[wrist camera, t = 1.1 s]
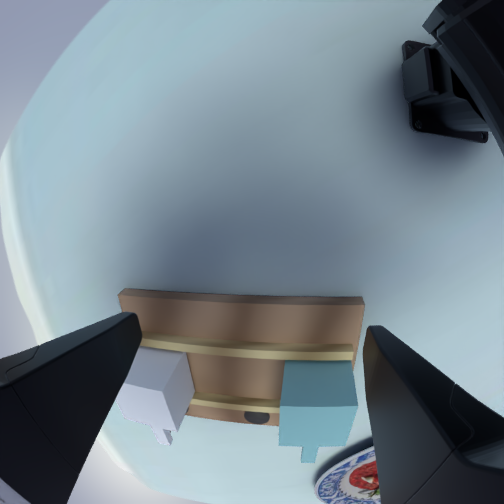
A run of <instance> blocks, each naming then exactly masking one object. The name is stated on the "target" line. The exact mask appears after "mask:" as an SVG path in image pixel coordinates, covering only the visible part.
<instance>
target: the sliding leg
mask: <svg viewBox="0 0 504 504" xmlns="http://www.w3.org/2000/svg"><path fill="white" fill-rule="evenodd" d="M357 408H358V402H357V395H356V388H355V381H354V375H353V369H352V363H351V360H285V366H284V375H283V384H282V392H281V401H280V420H279V446H303V448H302V454H301V463H315V460H316V456H317V451H318V447H326V446H345V445H346V442H347V439H348V436H349V433H350V430H351V427H352V424H353V421H354V418H355V415H356V411H357Z"/></svg>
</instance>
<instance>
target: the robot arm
mask: <svg viewBox="0 0 504 504" xmlns="http://www.w3.org/2000/svg"><path fill="white" fill-rule="evenodd" d="M423 28H424V29H425V30H426V31H427V32H428V33H429V34H432V36H433V37H434V38H435V39H436V40H437V42H436V43H434V44H433V45H429V44H425V43H420V42H415V41H406V42H405V43H404V44H403V54H404V61H405V62H404V63H403V64H402V72H403V81H404V92H405V99H406V100H407V102H409V118H410V127H411V129H412V130H413V131H415V132H419V133H426V134H434V135H440V136H447V137H453V138H458V139H464V140H469V141H474V142H479V143H486V142H487V141H488V131H491V132H492V133H493V135H494V137H495V139H496V141H497V143H498V145H499V147H500V149H501V151H502V153H503V156H504V0H442V1H441V2H440V3H439V4H438V5H437V6H436V7H435V9H434V10H433V11H432V13H431V14H430V16H429V17H428V19H427V20H426V21H425V23H424V24H423ZM408 45H409V46H411V47H412V49H413V50H410V49H409V48H408ZM416 121H417V122H419V124H420V127H419V128H417V127H416V125H415V123H416ZM481 133H482V134H483V139H482V138H481ZM141 341H142V331H141V327H140V323H139V319H138V316H137V314H136V313H134V312H127V311H125V312H122V313H119V314H117V315H114V316H112V317H109V318H107V319H104V320H102V321H99V322H97V323H94V324H92V325H89V326H87V327H84V328H82V329H79V330H76V331H74V332H71V333H69V334H66V335H64V336H61V337H59V338H56V339H54V340H51V341H48V342H46V343H43V344H41V345H40V346H39V345H38V346H36V347H33V348H30V349H28V350H25V351H22V352H20V353H17V354H14V355H11V356H8V357H4V358H2V359H0V504H67V502H68V499H69V497H70V495H71V492H72V490H73V488H74V486H75V483H76V481H77V479H78V476H79V474H80V472H81V470H82V467H83V465H84V463H85V461H86V458H87V456H88V454H89V452H90V450H91V448H92V446H93V444H94V442H95V440H96V437H97V435H98V433H99V431H100V429H101V427H102V425H103V423H104V421H105V419H106V417H107V415H108V413H109V411H110V409H111V407H112V405H113V403H114V401H115V399H116V397H117V395H118V393H119V391H120V389H121V387H122V386H123V384H124V382H125V380H126V378H127V376H128V373H129V371H130V369H131V366H132V363H133V361H134V358H135V356H136V353H137V351H138V348H139V346H140V343H141ZM363 364H364V377H365V392H366V402H367V408H368V413H369V419H370V425H371V431H372V437H373V444H374V450H375V458H376V465H377V473H378V481H379V490H380V500H381V504H504V417H502V416H501V415H499V414H498V413H496V412H495V411H493V410H492V409H490V408H489V407H487V406H486V405H484V404H483V403H481V402H480V401H478V400H477V399H476V398H474V397H473V396H472V395H470V394H469V393H468V392H466V391H465V390H464V389H463V388H461V387H460V386H459V385H458V384H455V382H454V381H452V380H451V379H450V378H449V377H447V376H446V375H445V374H444V373H442V372H441V371H440V370H438V369H437V368H436V367H435V366H433V365H432V364H431V363H430V362H428V361H427V360H426V359H424V358H423V357H422V356H421V355H419V354H418V353H417V352H415V351H414V350H413V349H412V348H410V347H409V346H408V345H406V344H405V343H404V342H403V341H401V340H400V339H399V338H397V337H396V336H395V335H393V334H392V333H391V332H390V331H388V330H387V329H386V328H384V327H383V326H381V325H376V326H369V327H368V328H367V332H366V337H365V342H364V347H363Z"/></svg>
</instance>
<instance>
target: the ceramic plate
mask: <svg viewBox="0 0 504 504" xmlns="http://www.w3.org/2000/svg"><path fill="white" fill-rule="evenodd" d="M315 495H316V496H317V498H318V499H319V500H321V501H322V502H324V503H326V504H381V500H380V490H379V481H378V473H377V465H376V458H375V450H374V446H372V447H370V448H367V449H365V450H363V451H361V452H359V453H356V454H354V455H352V456H350V457H348V458H346V459H344V460H343V461H341V462H339V463H338V464H336V465H334V466H333V467H332V468H330V469H329V470H327V471H326V472H325V473H324V474H323V475H322V476H321V477H320V478H319V479H318V481H317V483H316V485H315Z"/></svg>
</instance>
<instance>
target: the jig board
mask: <svg viewBox="0 0 504 504" xmlns="http://www.w3.org/2000/svg"><path fill="white" fill-rule="evenodd" d="M118 298H119V302H120V305H121V309H122V312H125V311H127V312H134V313H136V314H137V316H138V319H139V323H140V327H141V331H142V341H141V343H140V345H141V346H147V347H153V348H160V349H167V350H175V351H182V352H186V355H187V359H188V364H189V368H190V372H191V377H192V381H193V385H194V389H195V393H194V395H193V397H192V400H191V402H190V404H189V406H188V409H187V411H186V413H185V415H188V416H194V417H200V418H207V419H213V420H221V421H228V422H237V423H247V424H258V425H271V426H279V420H280V401H281V392H282V384H283V375H284V366H285V360H351V363H352V369H354V364H355V359H356V354H357V349H358V344H359V338H360V332H361V327H362V320H363V314H364V307H365V304H364V301H363V298H362V297H291V296H252V295H225V294H204V293H185V292H169V291H153V290H140V289H127V288H125V289H124V290H122V291H121V292H120V293H119V294H118Z"/></svg>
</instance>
